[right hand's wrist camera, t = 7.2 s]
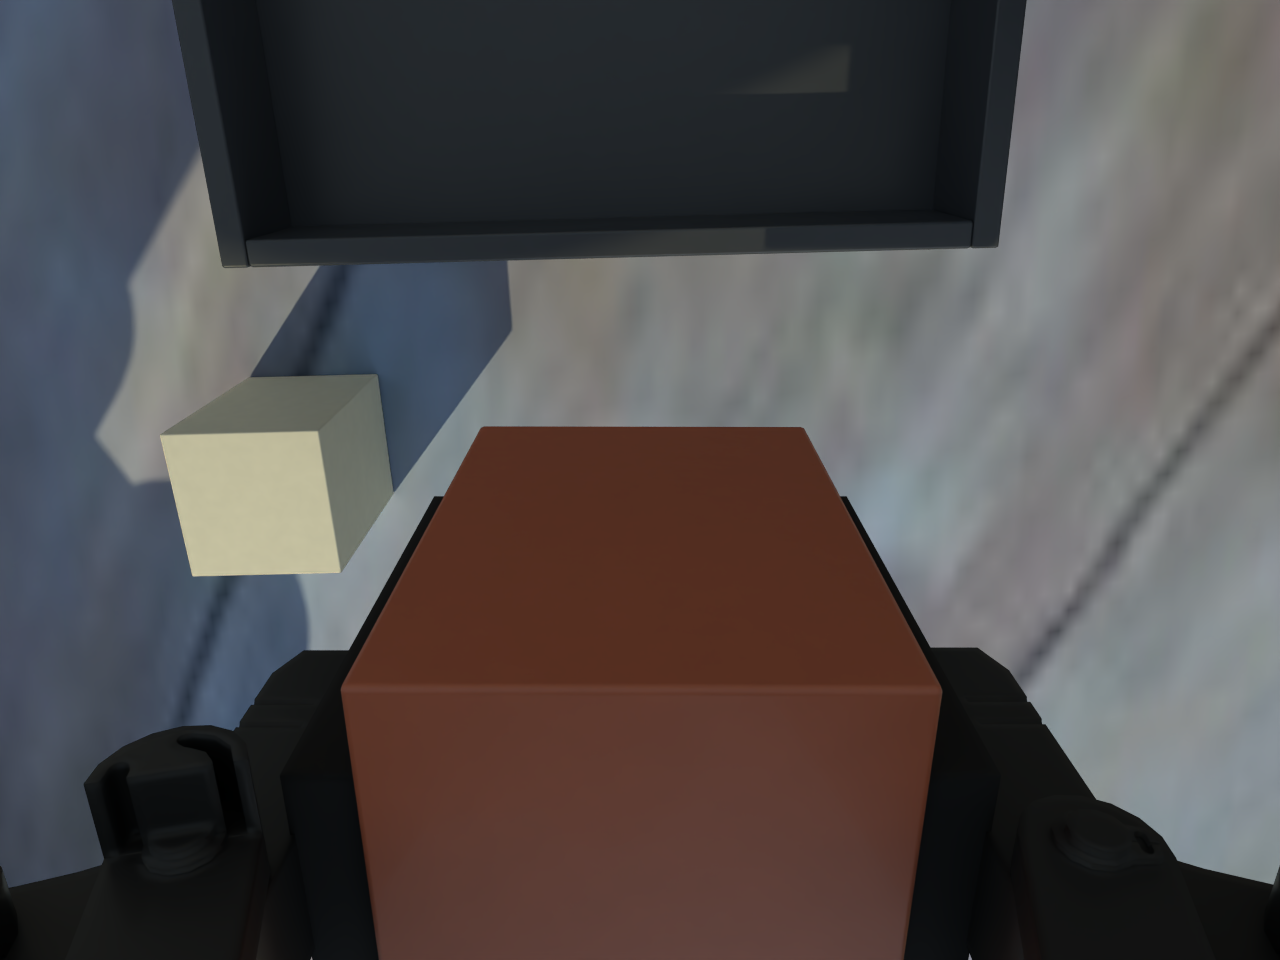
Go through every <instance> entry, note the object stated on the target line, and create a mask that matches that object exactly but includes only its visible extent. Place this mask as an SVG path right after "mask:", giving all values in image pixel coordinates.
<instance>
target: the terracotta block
mask: <svg viewBox="0 0 1280 960" xmlns="http://www.w3.org/2000/svg"><path fill="white" fill-rule="evenodd" d="M341 695H342V702H343V710H344V717H345V724H346V731H347V738H348V745H349V752H350V759H351V766H352V773H353V780H354V787H355V795H356V802H357V809H358V816H359V823H360V830H361V837H362V844H363V851H364V858H365V865H366V873H367V880H368V887H369V894H370V901H371V908H372V915H373V922H374V929H375V936H376V943H377V951H378V958H379V960H904V953H905V946H906V940H907V933H908V926H909V919H910V912H911V905H912V898H913V891H914V884H915V877H916V871H917V864H918V857H919V850H920V843H921V836H922V829H923V822H924V815H925V808H926V802H927V795H928V788H929V781H930V774H931V767H932V760H933V753H934V746H935V740H936V733H937V726H938V719H939V712H940V705H941V698H942V689H941V686H940V684H939V682H938V680H937V678H936V676H935V674H934V673H933V671H932V669H931V667H930V665H929V663H928V661H927V659H926V657H925V656H924V654H923V652H922V650H921V648H920V646H919V644H918V642H917V641H916V639H915V637H914V635H913V633H912V631H911V629H910V627H909V625H908V624H907V622H906V620H905V618H904V616H903V614H902V612H901V610H900V609H899V607H898V605H897V603H896V601H895V599H894V597H893V595H892V593H891V592H890V590H889V588H888V586H887V584H886V582H885V580H884V578H883V576H882V575H881V573H880V571H879V569H878V567H877V565H876V563H875V561H874V560H873V558H872V556H871V554H870V552H869V550H868V548H867V546H866V544H865V543H864V541H863V539H862V537H861V535H860V533H859V531H858V529H857V528H856V526H855V524H854V522H853V520H852V518H851V516H850V514H849V512H848V511H847V509H846V507H845V505H844V503H843V501H842V499H841V497H840V495H839V494H838V492H837V490H836V488H835V486H834V484H833V482H832V480H831V479H830V477H829V475H828V473H827V471H826V469H825V467H824V465H823V463H822V462H821V460H820V458H819V456H818V454H817V452H816V450H815V448H814V447H813V445H812V443H811V441H810V439H809V437H808V435H807V433H806V431H805V430H804V428H801V427H482V428H481V429H480V431H479V432H478V434H477V436H476V438H475V440H474V442H473V444H472V445H471V447H470V449H469V451H468V453H467V455H466V457H465V458H464V460H463V462H462V464H461V466H460V468H459V470H458V471H457V473H456V475H455V477H454V479H453V481H452V482H451V484H450V486H449V488H448V490H447V492H446V494H445V495H444V497H443V499H442V501H441V503H440V505H439V507H438V508H437V510H436V512H435V514H434V516H433V518H432V519H431V521H430V523H429V525H428V527H427V529H426V531H425V532H424V534H423V536H422V538H421V540H420V542H419V544H418V545H417V547H416V549H415V551H414V553H413V555H412V557H411V558H410V560H409V562H408V564H407V566H406V568H405V569H404V571H403V573H402V575H401V577H400V579H399V581H398V582H397V584H396V586H395V588H394V590H393V592H392V594H391V595H390V597H389V599H388V601H387V603H386V605H385V607H384V608H383V610H382V612H381V614H380V616H379V618H378V619H377V621H376V623H375V625H374V627H373V629H372V631H371V632H370V634H369V636H368V638H367V640H366V642H365V644H364V645H363V647H362V649H361V651H360V653H359V655H358V656H357V658H356V660H355V662H354V664H353V666H352V668H351V669H350V671H349V673H348V675H347V677H346V679H345V681H344V682H343V684H342V687H341Z"/></svg>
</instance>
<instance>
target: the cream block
mask: <svg viewBox="0 0 1280 960" xmlns="http://www.w3.org/2000/svg"><path fill="white" fill-rule="evenodd" d="M160 437H161V441H162V446H163V450H164V454H165V459H166V463H167V468H168V472H169V476H170V481H171V485H172V489H173V494H174V498H175V502H176V507H177V511H178V515H179V520H180V524H181V529H182V533H183V537H184V542H185V546H186V550H187V555H188V559H189V563H190V568H191V572H192V576H226V575H266V574H306V573H341V572H342V571H343V569H344V568H345V566H346V565H347V563H348V562H349V560H350V559H351V557H352V556H353V554H354V553H355V551H356V550H357V548H358V547H359V545H360V544H361V542H362V541H363V539H364V537H365V536H366V534H367V533H368V531H369V530H370V528H371V527H372V525H373V524H374V522H375V521H376V519H377V518H378V516H379V515H380V513H381V512H382V510H383V509H384V507H385V506H386V504H387V503H388V501H389V500H390V498H391V497H392V495H393V486H392V478H391V471H390V463H389V456H388V448H387V441H386V434H385V426H384V419H383V411H382V404H381V396H380V389H379V381H378V375H377V374H363V375H324V376H286V377H249V378H247V379H246V380H244V381H243V382H241V383H240V384H238V385H236V386H235V387H233V388H232V389H230V390H229V391H227V392H226V393H224V394H223V395H221V396H219V397H218V398H216V399H215V400H213V401H212V402H210V403H209V404H207V405H205V406H204V407H202V408H201V409H199V410H198V411H196V412H195V413H193V414H191V415H190V416H188V417H187V418H185V419H184V420H182V421H181V422H179V423H177V424H176V425H174V426H173V427H171V428H170V429H168V430H167V431H165V432H164V433H162V434H161V435H160Z"/></svg>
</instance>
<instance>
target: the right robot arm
mask: <svg viewBox="0 0 1280 960" xmlns="http://www.w3.org/2000/svg"><path fill="white" fill-rule="evenodd" d="M443 497H444V496H434V498H433V500H432V502H431V503H430V505H429V507H428V509H427V511H426V512H425V514H424V516H423V518H422V520H421V521H420V523H419V525H418V527H417V529H416V530H415V532H414V534H413V536H412V538H411V539H410V541H409V543H408V545H407V547H406V548H405V550H404V552H403V554H402V556H401V557H400V559H399V561H398V563H397V565H396V566H395V568H394V570H393V572H392V574H391V575H390V577H389V579H388V581H387V583H386V584H385V586H384V588H383V590H382V592H381V593H380V595H379V597H378V599H377V601H376V602H375V604H374V606H373V608H372V610H371V611H370V613H369V615H368V617H367V619H366V620H365V622H364V624H363V626H362V628H361V629H360V631H359V633H358V635H357V637H356V639H355V640H354V642H353V644H352V646H351V648H350V649H349V650H304V651H302V652H301V653H300V654H298V655H297V656H296V657H294V658H293V659H291V660H290V661H289V662H287V663H286V664H284V665H283V666H282V667H280V668H279V669H278V670H276V671H275V672H273V673H272V675H271V676H270V678H269V679H268V681H267V682H266V684H265V685H264V686H263V688H262V689H261V691H260V692H259V694H258V695H257V697H256V698H255V703H254V705H251V706H250V707H249V709H248V710H247V712H246V713H245V715H244V716H243V718H242V719H241V721H240V726H239V727H236V728H235V730H234V731H231V730H227V729H223V728H219V727H216V726H212V725H204V726H182V727H178V728H173V729H169V730H165V731H161V732H157V733H153V734H150V735H148V736H146V737H144V738H141V739H139V740H137V741H135V742H132V743H130V744H128V745H126V746H124V747H122V748H121V749H119V750H118V751H116V752H115V753H114V754H112V755H111V756H109V757H108V758H107V759H105V760H104V761H103V762H101V763H100V764H98V766H97V767H96V768H95V770H94V771H93V772H92V774H91V775H90V776H89V778H88V779H87V780H86V781H85V783H84V788H85V791H86V795H87V798H88V802H89V806H90V809H91V813H92V816H93V820H94V824H95V827H96V831H97V834H98V838H99V842H100V845H101V849H102V852H103V856H104V861H103V863H102V865H100V866H97V867H94V868H90V869H87V870H84V871H80V872H77V873H72V874H68V875H64V876H59V877H55V878H51V879H46V880H42V881H38V882H33V883H29V884H25V885H20V886H16V887H12V888H8V885H7V882H6V879H5V876H4V873H3V870H2V867H1V866H0V960H310V959H311V957H312V959H313V960H379V958H378V951H377V943H376V936H375V929H374V922H373V915H372V908H371V901H370V894H369V887H368V880H367V873H366V865H365V858H364V851H363V844H362V837H361V830H360V823H359V816H358V809H357V802H356V795H355V787H354V780H353V773H352V766H351V759H350V752H349V745H348V738H347V731H346V724H345V717H344V710H343V702H342V695H341V687H342V684H343V682H344V681H345V679H346V677H347V675H348V673H349V671H350V669H351V668H352V666H353V664H354V662H355V660H356V658H357V656H358V655H359V653H360V651H361V649H362V647H363V645H364V644H365V642H366V640H367V638H368V636H369V634H370V632H371V631H372V629H373V627H374V625H375V623H376V621H377V619H378V618H379V616H380V614H381V612H382V610H383V608H384V607H385V605H386V603H387V601H388V599H389V597H390V595H391V594H392V592H393V590H394V588H395V586H396V584H397V582H398V581H399V579H400V577H401V575H402V573H403V571H404V569H405V568H406V566H407V564H408V562H409V560H410V558H411V557H412V555H413V553H414V551H415V549H416V547H417V545H418V544H419V542H420V540H421V538H422V536H423V534H424V532H425V531H426V529H427V527H428V525H429V523H430V521H431V519H432V518H433V516H434V514H435V512H436V510H437V508H438V507H439V505H440V503H441V501H442V499H443ZM840 497H841V499H842V501H843V503H844V505H845V507H846V509H847V511H848V512H849V514H850V516H851V518H852V520H853V522H854V524H855V526H856V528H857V529H858V531H859V533H860V535H861V537H862V539H863V541H864V543H865V544H866V546H867V548H868V550H869V552H870V554H871V556H872V558H873V560H874V561H875V563H876V565H877V567H878V569H879V571H880V573H881V575H882V576H883V578H884V580H885V582H886V584H887V586H888V588H889V590H890V592H891V593H892V595H893V597H894V599H895V601H896V603H897V605H898V607H899V609H900V610H901V612H902V614H903V616H904V618H905V620H906V622H907V624H908V625H909V627H910V629H911V631H912V633H913V635H914V637H915V639H916V641H917V642H918V644H919V646H920V648H921V650H922V652H923V654H924V656H925V657H926V659H927V661H928V663H929V665H930V667H931V669H932V671H933V673H934V674H935V676H936V678H937V680H938V682H939V684H940V686H941V689H942V698H941V705H940V712H939V719H938V726H937V733H936V740H935V746H934V753H933V760H932V767H931V774H930V781H929V788H928V795H927V802H926V808H925V815H924V822H923V829H922V836H921V843H920V850H919V857H918V864H917V871H916V877H915V884H914V891H913V898H912V905H911V912H910V919H909V926H908V933H907V940H906V946H905V953H904V960H968V958H969V953H970V956H971V958H972V960H1280V867H1279V870H1278V873H1277V876H1276V879H1275V882H1274V885H1272V884H1268V883H1264V882H1259V881H1255V880H1251V879H1246V878H1242V877H1238V876H1233V875H1229V874H1225V873H1220V872H1216V871H1212V870H1207V869H1203V868H1200V867H1196V866H1193V865H1190V864H1186V863H1183V862H1180V861H1177V859H1176V857H1175V856H1174V854H1173V853H1172V851H1171V850H1170V848H1169V847H1168V845H1167V843H1166V842H1165V840H1164V839H1163V837H1162V836H1161V835H1159V834H1158V833H1157V832H1156V831H1154V830H1153V829H1152V828H1151V827H1150V826H1148V825H1147V824H1146V823H1145V822H1144V821H1142V820H1141V819H1140V818H1138V817H1136V816H1134V815H1132V814H1130V813H1128V812H1127V811H1125V810H1123V809H1121V808H1119V807H1117V806H1115V805H1113V804H1110V803H1107V802H1103V801H1099V800H1096V798H1095V797H1094V796H1093V794H1092V793H1091V791H1090V790H1089V788H1088V787H1087V785H1086V784H1085V782H1084V781H1083V779H1082V778H1081V776H1080V775H1079V773H1078V772H1077V770H1076V769H1075V767H1074V766H1073V764H1072V763H1071V761H1070V760H1069V759H1068V757H1067V756H1066V754H1065V753H1064V751H1063V750H1062V748H1061V747H1060V745H1059V744H1058V742H1057V741H1056V739H1055V738H1054V736H1053V735H1052V733H1051V732H1050V730H1049V729H1048V727H1047V726H1046V724H1042V719H1041V717H1040V716H1039V714H1038V713H1037V711H1036V710H1035V708H1034V707H1033V705H1032V704H1031V702H1027V696H1026V695H1025V693H1024V692H1023V690H1022V689H1021V687H1020V686H1019V685H1018V683H1017V682H1016V680H1015V679H1014V677H1013V676H1012V674H1011V673H1010V671H1009V670H1008V669H1006V668H1005V667H1004V666H1002V665H1001V664H999V663H998V662H997V661H995V660H994V659H992V658H991V657H990V656H988V655H987V654H986V653H984V652H983V651H981V650H980V649H979V648H930V646H929V644H928V642H927V641H926V639H925V637H924V635H923V633H922V632H921V630H920V628H919V626H918V624H917V623H916V621H915V619H914V617H913V615H912V614H911V612H910V610H909V608H908V606H907V605H906V603H905V601H904V599H903V597H902V596H901V594H900V592H899V590H898V588H897V587H896V585H895V583H894V581H893V579H892V577H891V576H890V574H889V572H888V570H887V568H886V567H885V565H884V563H883V561H882V559H881V558H880V556H879V554H878V552H877V550H876V549H875V547H874V545H873V543H872V541H871V540H870V538H869V536H868V534H867V532H866V531H865V529H864V527H863V525H862V523H861V522H860V520H859V518H858V516H857V514H856V513H855V511H854V509H853V507H852V505H851V504H850V502H849V500H848V498H847V496H840Z"/></svg>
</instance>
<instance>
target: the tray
mask: <svg viewBox="0 0 1280 960" xmlns="http://www.w3.org/2000/svg"><path fill="white" fill-rule="evenodd" d="M172 3H173V8H174V14H175V19H176V24H177V29H178V35H179V40H180V45H181V51H182V56H183V61H184V66H185V72H186V77H187V82H188V87H189V93H190V98H191V103H192V109H193V114H194V119H195V124H196V130H197V135H198V140H199V146H200V151H201V156H202V161H203V167H204V172H205V177H206V182H207V188H208V193H209V198H210V204H211V209H212V214H213V219H214V225H215V230H216V235H217V240H218V246H219V251H220V256H221V262H222V266H223V267H224V268H244V267H250V266H252V267H278V266H316V265H353V264H391V263H429V262H467V261H504V260H542V259H580V258H618V257H656V256H693V255H731V254H769V253H807V252H844V251H882V250H920V249H958V248H969V247H971V248H996V247H998V243H999V235H1000V226H1001V217H1002V209H1003V200H1004V191H1005V183H1006V174H1007V165H1008V156H1009V148H1010V139H1011V130H1012V122H1013V113H1014V104H1015V96H1016V87H1017V78H1018V70H1019V61H1020V52H1021V44H1022V35H1023V26H1024V17H1025V9H1026V0H172Z"/></svg>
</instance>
